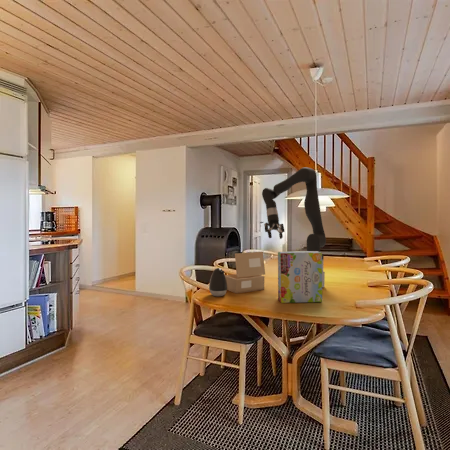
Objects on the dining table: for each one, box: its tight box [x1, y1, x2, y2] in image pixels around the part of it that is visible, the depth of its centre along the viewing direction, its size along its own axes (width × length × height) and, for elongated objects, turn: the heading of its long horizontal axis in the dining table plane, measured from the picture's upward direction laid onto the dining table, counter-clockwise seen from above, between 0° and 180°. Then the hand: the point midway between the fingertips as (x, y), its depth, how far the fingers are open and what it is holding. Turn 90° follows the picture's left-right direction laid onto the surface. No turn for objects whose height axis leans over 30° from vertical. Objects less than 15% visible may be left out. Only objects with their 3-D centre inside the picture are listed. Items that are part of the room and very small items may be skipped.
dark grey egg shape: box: [208, 267, 228, 297], centre depth 183 cm, size 10×10×15 cm
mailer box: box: [225, 273, 265, 294], centre depth 199 cm, size 14×20×8 cm
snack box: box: [277, 250, 323, 304], centre depth 172 cm, size 22×9×26 cm, turn 92°
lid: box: [234, 251, 266, 278], centre depth 193 cm, size 14×20×1 cm
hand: (275, 238), depth 222 cm, fingers open, 8 cm apart
